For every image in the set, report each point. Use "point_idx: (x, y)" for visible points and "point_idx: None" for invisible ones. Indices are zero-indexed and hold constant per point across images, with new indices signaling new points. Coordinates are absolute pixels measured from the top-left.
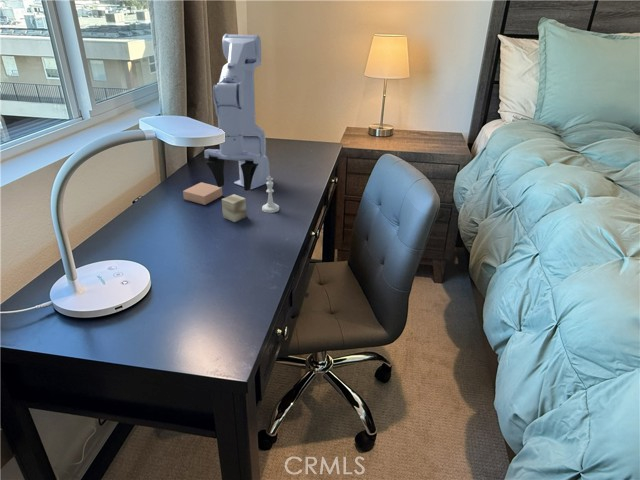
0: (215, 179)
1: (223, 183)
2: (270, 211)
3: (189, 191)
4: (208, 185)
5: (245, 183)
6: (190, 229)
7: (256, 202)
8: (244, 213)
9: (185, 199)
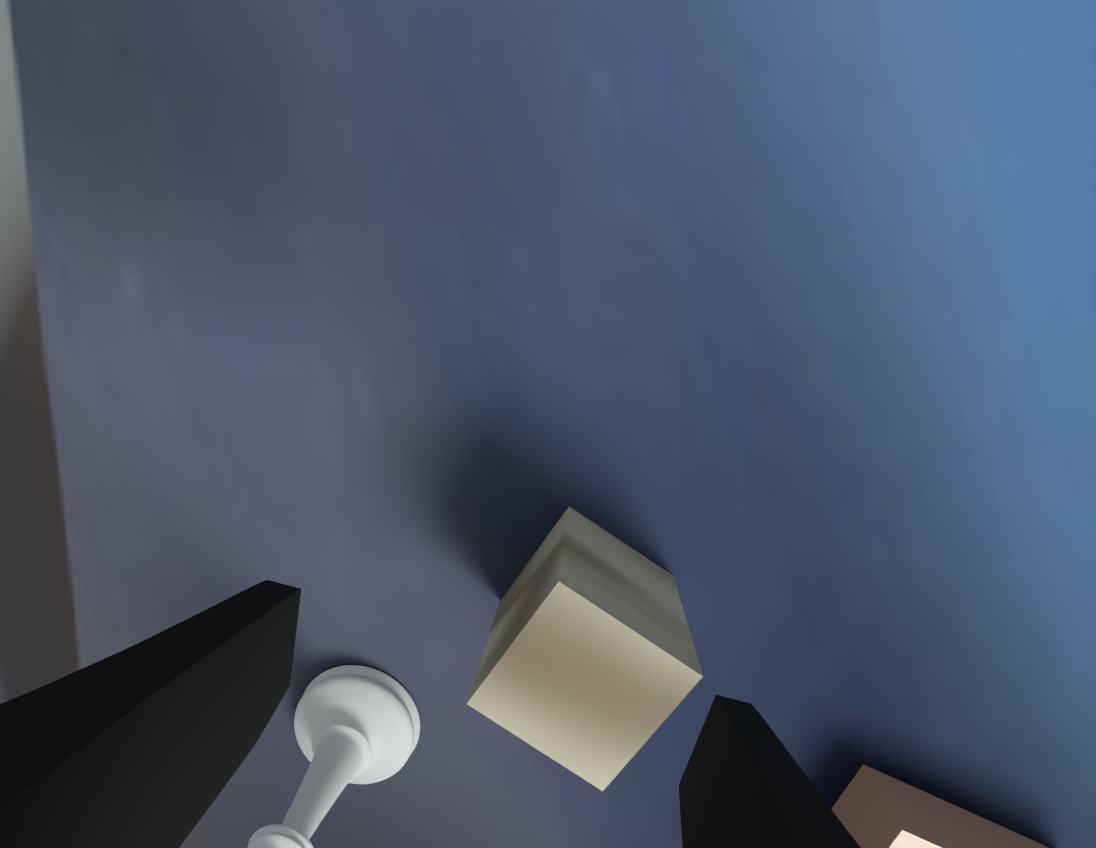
0: (835, 816)
1: (686, 806)
2: (343, 673)
3: None
4: None
5: (176, 640)
6: (893, 355)
7: (484, 812)
8: (506, 603)
9: (1043, 845)
